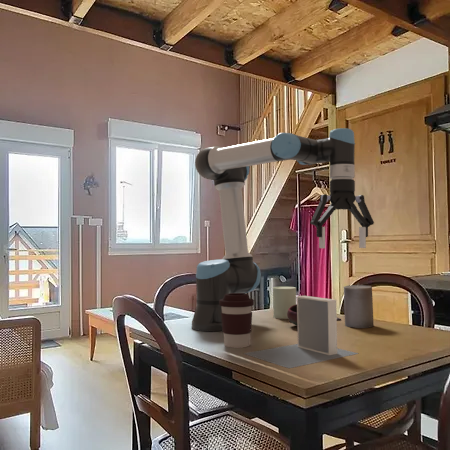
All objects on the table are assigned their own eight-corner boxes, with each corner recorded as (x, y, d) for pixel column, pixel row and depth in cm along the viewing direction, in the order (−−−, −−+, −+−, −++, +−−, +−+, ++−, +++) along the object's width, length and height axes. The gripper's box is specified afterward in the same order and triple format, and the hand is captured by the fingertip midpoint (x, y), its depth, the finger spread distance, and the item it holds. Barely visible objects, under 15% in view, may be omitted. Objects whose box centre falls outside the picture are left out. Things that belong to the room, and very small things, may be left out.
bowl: (329, 329, 161) (329, 305, 161) (292, 330, 159) (291, 306, 159) (314, 321, 176) (314, 299, 177) (281, 322, 175) (280, 300, 175)
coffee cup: (230, 341, 143) (230, 291, 143) (260, 345, 138) (259, 293, 138) (213, 348, 134) (212, 295, 135) (244, 352, 129) (243, 296, 130)
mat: (243, 355, 125) (243, 353, 125) (310, 343, 139) (310, 341, 139) (288, 370, 110) (288, 368, 110) (358, 355, 124) (358, 353, 124)
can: (270, 315, 191) (270, 285, 192) (293, 314, 192) (292, 285, 193) (275, 319, 182) (275, 287, 182) (299, 318, 183) (298, 287, 183)
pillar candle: (369, 323, 171) (367, 281, 172) (377, 328, 161) (375, 283, 162) (342, 323, 171) (340, 282, 172) (348, 328, 162) (346, 284, 162)
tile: (297, 346, 132) (296, 296, 133) (305, 345, 134) (304, 295, 134) (329, 355, 122) (328, 300, 123) (337, 353, 124) (336, 299, 124)
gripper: (309, 176, 141) (309, 248, 140) (385, 179, 146) (385, 248, 146) (299, 179, 148) (299, 248, 148) (372, 181, 154) (372, 247, 153)
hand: (342, 248), depth 147 cm, fingers open, 13 cm apart
